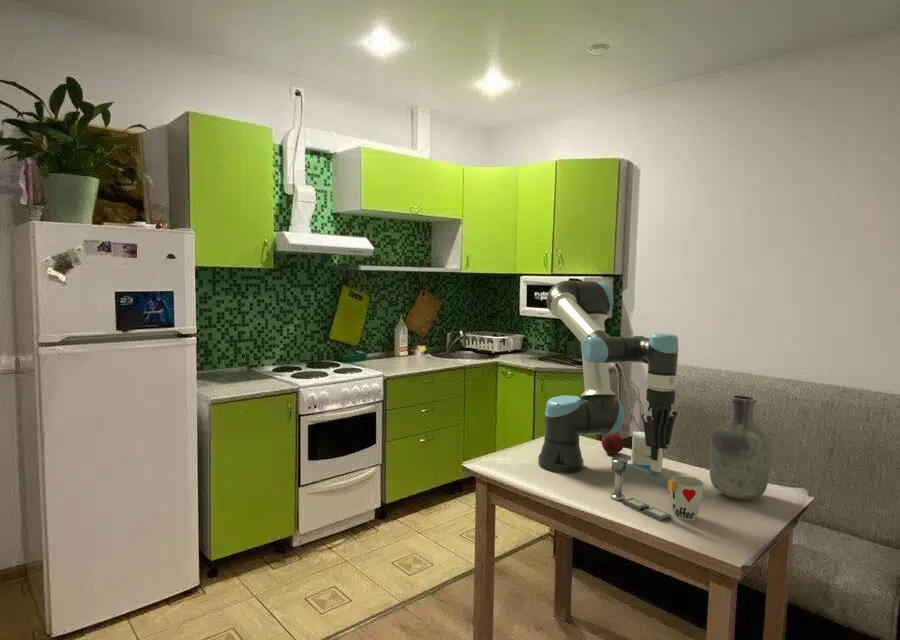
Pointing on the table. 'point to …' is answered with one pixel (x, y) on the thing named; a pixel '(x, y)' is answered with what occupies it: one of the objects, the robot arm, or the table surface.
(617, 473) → the post
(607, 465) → the table surface
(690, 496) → the cup
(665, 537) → the table surface
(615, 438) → the apple
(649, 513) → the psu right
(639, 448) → the ink box
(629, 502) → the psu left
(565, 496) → the table surface
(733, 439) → the vase
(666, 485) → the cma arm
